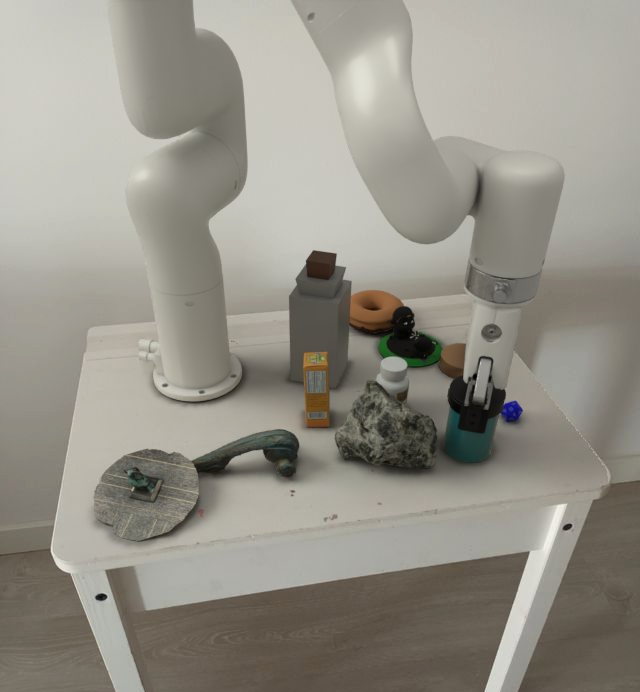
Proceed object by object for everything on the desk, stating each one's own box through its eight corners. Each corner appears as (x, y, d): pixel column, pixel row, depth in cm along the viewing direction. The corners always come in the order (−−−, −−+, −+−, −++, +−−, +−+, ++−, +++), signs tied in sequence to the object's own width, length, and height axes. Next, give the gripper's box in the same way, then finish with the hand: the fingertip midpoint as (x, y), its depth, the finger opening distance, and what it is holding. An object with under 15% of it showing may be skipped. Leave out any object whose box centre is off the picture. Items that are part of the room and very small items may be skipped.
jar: (440, 457, 83) (449, 403, 77) (446, 428, 87) (455, 374, 82) (488, 466, 81) (501, 412, 76) (492, 436, 86) (504, 383, 80)
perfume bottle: (290, 380, 95) (288, 264, 83) (304, 355, 100) (304, 242, 88) (335, 388, 93) (339, 272, 82) (347, 362, 98) (353, 249, 87)
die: (516, 428, 87) (505, 413, 86) (503, 423, 90) (493, 408, 88) (529, 413, 88) (519, 398, 86) (516, 409, 90) (506, 394, 89)
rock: (394, 495, 85) (438, 432, 85) (416, 508, 76) (464, 437, 77) (318, 441, 82) (364, 376, 83) (332, 448, 74) (383, 376, 74)
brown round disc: (436, 375, 96) (437, 364, 95) (442, 351, 101) (443, 340, 100) (483, 383, 95) (485, 372, 94) (486, 358, 100) (489, 347, 99)
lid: (443, 413, 78) (445, 401, 77) (450, 382, 83) (452, 369, 82) (501, 424, 77) (504, 411, 75) (504, 391, 81) (507, 379, 80)
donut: (341, 316, 101) (341, 338, 104) (406, 317, 101) (404, 339, 104) (343, 285, 109) (343, 306, 112) (403, 286, 109) (401, 307, 111)
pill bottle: (403, 422, 88) (409, 375, 83) (371, 418, 88) (375, 370, 83) (407, 403, 91) (412, 356, 86) (375, 399, 92) (379, 352, 87)
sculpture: (90, 466, 78) (117, 422, 74) (160, 479, 84) (190, 438, 80) (97, 551, 71) (128, 506, 67) (174, 559, 76) (207, 518, 72)
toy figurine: (403, 373, 96) (406, 339, 92) (365, 341, 103) (367, 308, 99) (456, 355, 100) (462, 322, 96) (417, 325, 107) (421, 293, 103)
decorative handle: (293, 442, 84) (292, 411, 81) (305, 477, 79) (305, 446, 76) (174, 461, 81) (169, 430, 78) (180, 499, 76) (174, 467, 73)
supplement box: (303, 412, 89) (303, 350, 83) (329, 412, 89) (330, 350, 83) (303, 428, 87) (303, 365, 80) (329, 428, 87) (331, 365, 80)
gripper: (536, 325, 62) (500, 464, 73) (540, 249, 75) (509, 377, 86) (456, 313, 63) (433, 451, 75) (473, 240, 76) (451, 368, 88)
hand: (474, 410), depth 80 cm, fingers closed on lid, 6 cm apart
